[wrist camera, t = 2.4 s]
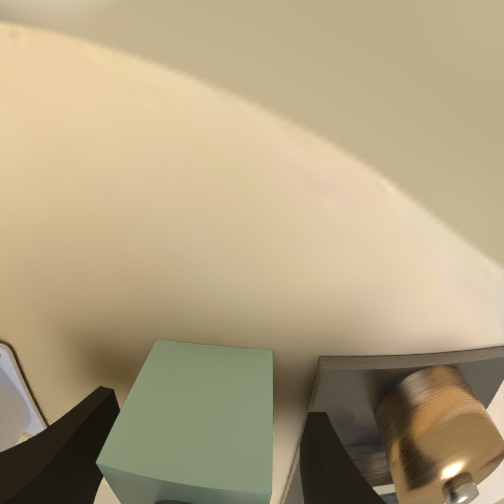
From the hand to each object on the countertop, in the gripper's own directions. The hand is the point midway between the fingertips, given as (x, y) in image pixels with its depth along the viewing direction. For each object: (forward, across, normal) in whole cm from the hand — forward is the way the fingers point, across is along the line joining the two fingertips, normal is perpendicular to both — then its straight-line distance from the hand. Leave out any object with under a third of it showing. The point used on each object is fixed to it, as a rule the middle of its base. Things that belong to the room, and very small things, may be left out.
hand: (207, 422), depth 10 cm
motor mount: (+2, -9, +5) cm, 10 cm away
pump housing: (+2, 0, 0) cm, 2 cm away
